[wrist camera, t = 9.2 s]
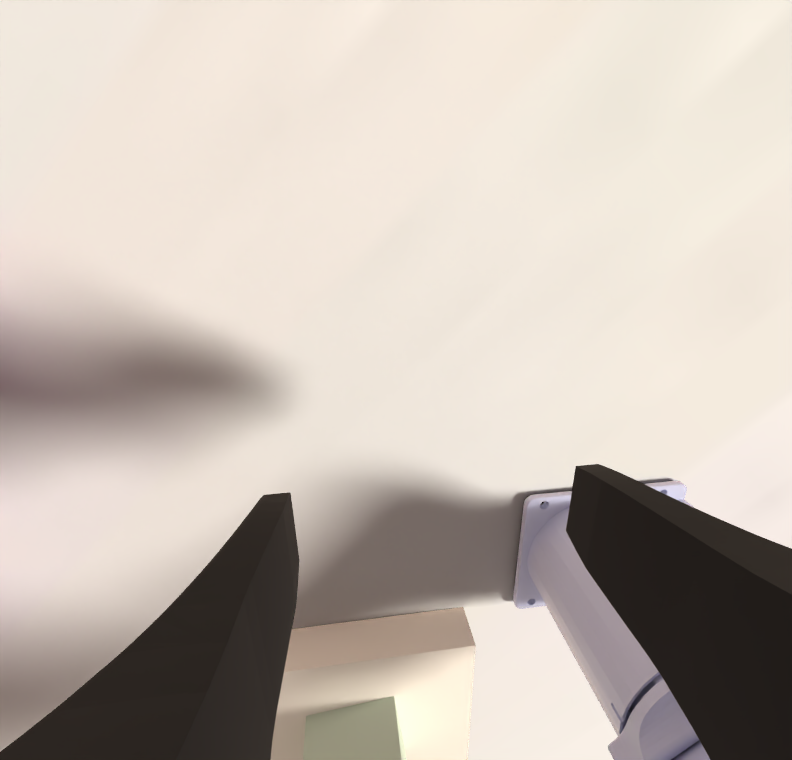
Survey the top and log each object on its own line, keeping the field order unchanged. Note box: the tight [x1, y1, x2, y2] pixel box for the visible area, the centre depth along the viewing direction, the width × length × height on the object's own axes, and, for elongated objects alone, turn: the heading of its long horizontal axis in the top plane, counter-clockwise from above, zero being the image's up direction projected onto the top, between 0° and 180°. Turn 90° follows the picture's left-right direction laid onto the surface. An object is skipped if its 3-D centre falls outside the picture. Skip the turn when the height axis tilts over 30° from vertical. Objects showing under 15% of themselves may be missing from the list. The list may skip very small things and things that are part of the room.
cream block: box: [270, 607, 476, 760], centre depth 25 cm, size 14×12×3 cm
